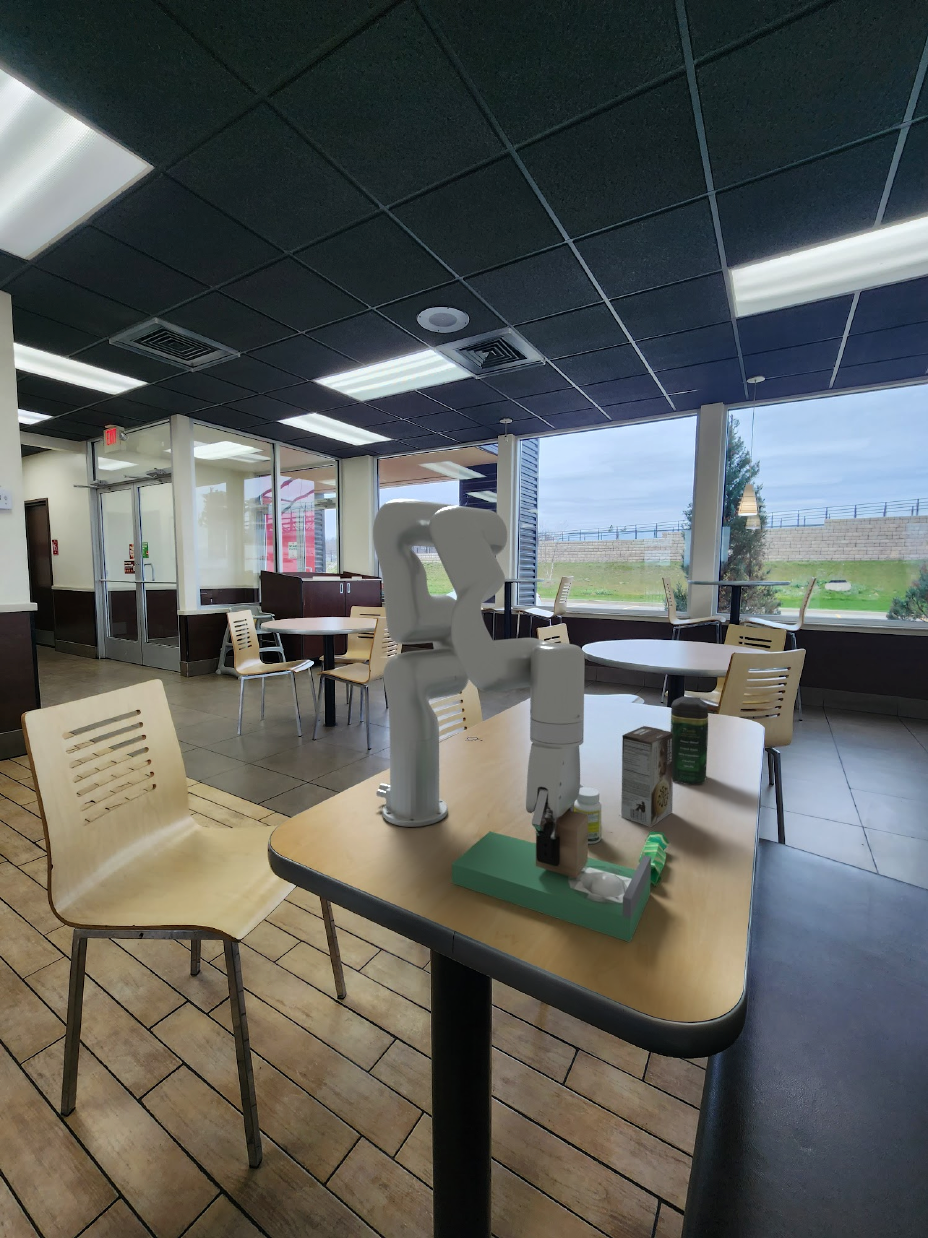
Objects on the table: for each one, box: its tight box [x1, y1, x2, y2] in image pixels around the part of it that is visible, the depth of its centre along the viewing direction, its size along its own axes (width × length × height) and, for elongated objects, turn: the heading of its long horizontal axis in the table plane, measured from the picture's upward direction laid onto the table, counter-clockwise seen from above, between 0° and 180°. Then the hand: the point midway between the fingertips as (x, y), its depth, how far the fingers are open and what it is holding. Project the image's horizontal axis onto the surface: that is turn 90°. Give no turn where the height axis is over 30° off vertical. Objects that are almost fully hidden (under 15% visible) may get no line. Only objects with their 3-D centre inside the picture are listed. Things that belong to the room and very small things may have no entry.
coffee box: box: [620, 725, 674, 828], centre depth 102 cm, size 9×6×16 cm
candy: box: [638, 831, 670, 888], centre depth 83 cm, size 12×3×4 cm
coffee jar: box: [670, 695, 709, 785], centre depth 121 cm, size 10×8×19 cm
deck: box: [451, 831, 651, 943], centre depth 77 cm, size 26×12×6 cm, turn 60°
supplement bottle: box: [574, 786, 602, 845], centre depth 93 cm, size 5×5×8 cm
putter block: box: [535, 809, 589, 878], centre depth 76 cm, size 6×5×7 cm
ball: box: [591, 873, 624, 897], centre depth 73 cm, size 4×4×4 cm
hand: (555, 852), depth 77 cm, fingers closed on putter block, 5 cm apart
